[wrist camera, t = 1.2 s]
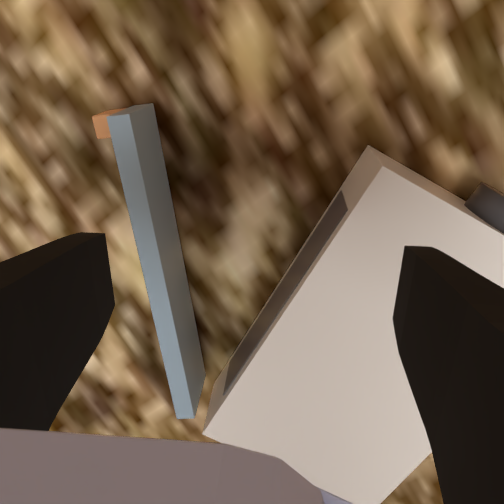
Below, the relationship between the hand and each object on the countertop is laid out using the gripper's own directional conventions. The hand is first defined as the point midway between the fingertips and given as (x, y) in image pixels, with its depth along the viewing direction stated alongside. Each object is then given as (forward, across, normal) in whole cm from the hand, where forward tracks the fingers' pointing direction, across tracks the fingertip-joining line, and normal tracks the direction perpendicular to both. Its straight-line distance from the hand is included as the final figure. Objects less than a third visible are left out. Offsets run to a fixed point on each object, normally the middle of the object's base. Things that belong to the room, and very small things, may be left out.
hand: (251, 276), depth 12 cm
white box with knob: (+9, -5, +7) cm, 12 cm away
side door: (+9, +5, +4) cm, 11 cm away
